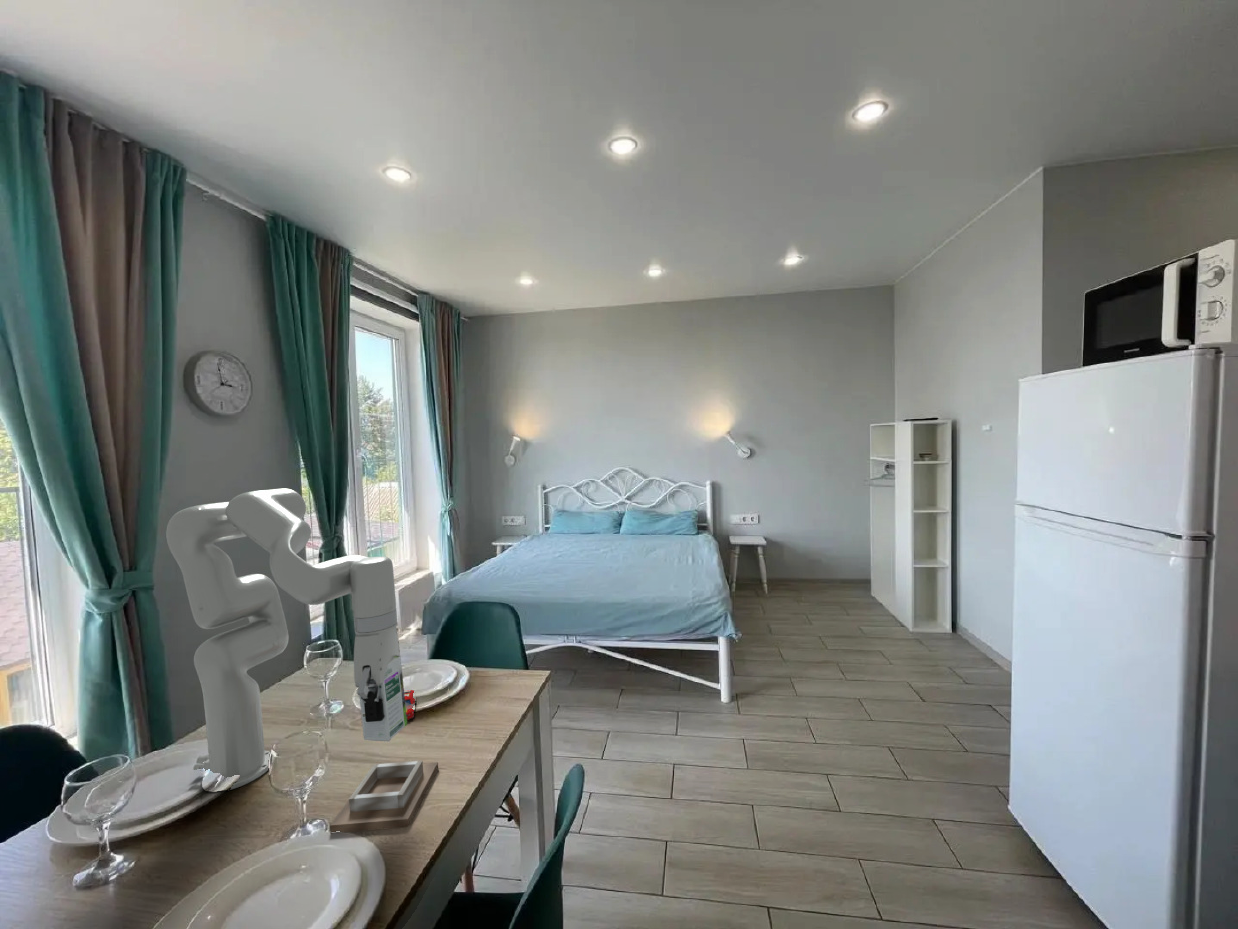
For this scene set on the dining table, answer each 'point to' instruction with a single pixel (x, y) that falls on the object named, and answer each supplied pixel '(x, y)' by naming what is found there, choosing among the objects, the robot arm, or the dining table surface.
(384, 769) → the socket board
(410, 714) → the race car
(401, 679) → the syrup box
